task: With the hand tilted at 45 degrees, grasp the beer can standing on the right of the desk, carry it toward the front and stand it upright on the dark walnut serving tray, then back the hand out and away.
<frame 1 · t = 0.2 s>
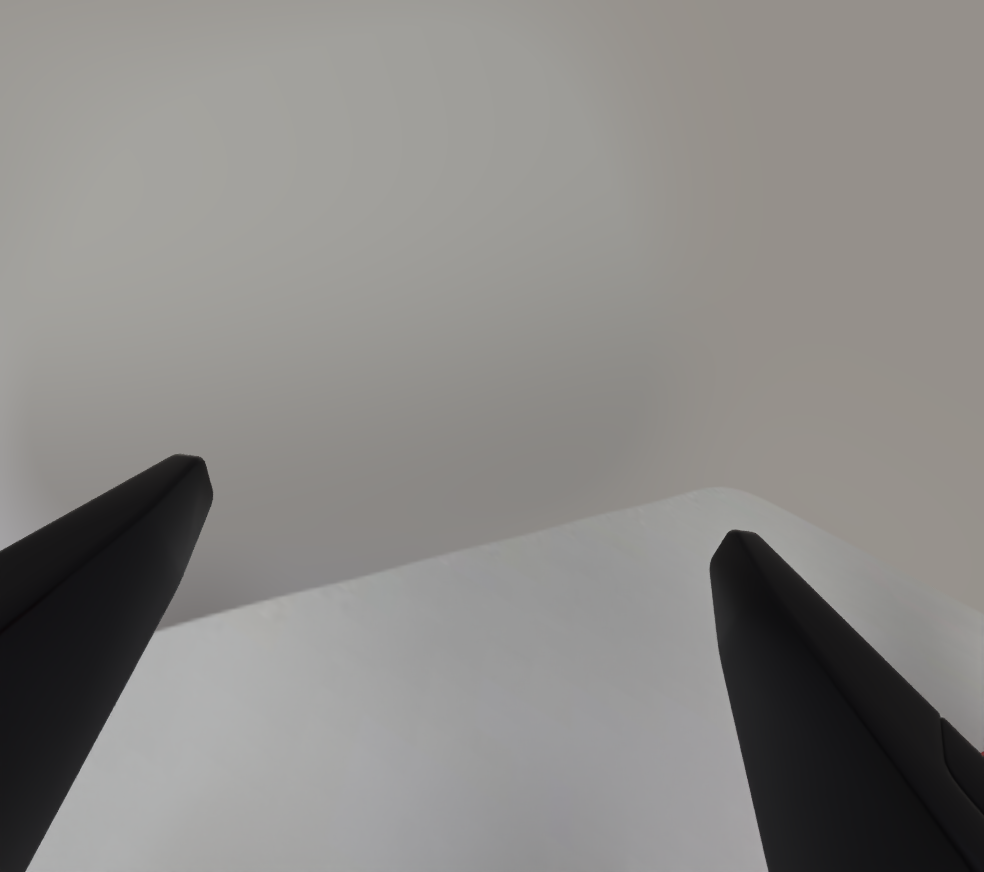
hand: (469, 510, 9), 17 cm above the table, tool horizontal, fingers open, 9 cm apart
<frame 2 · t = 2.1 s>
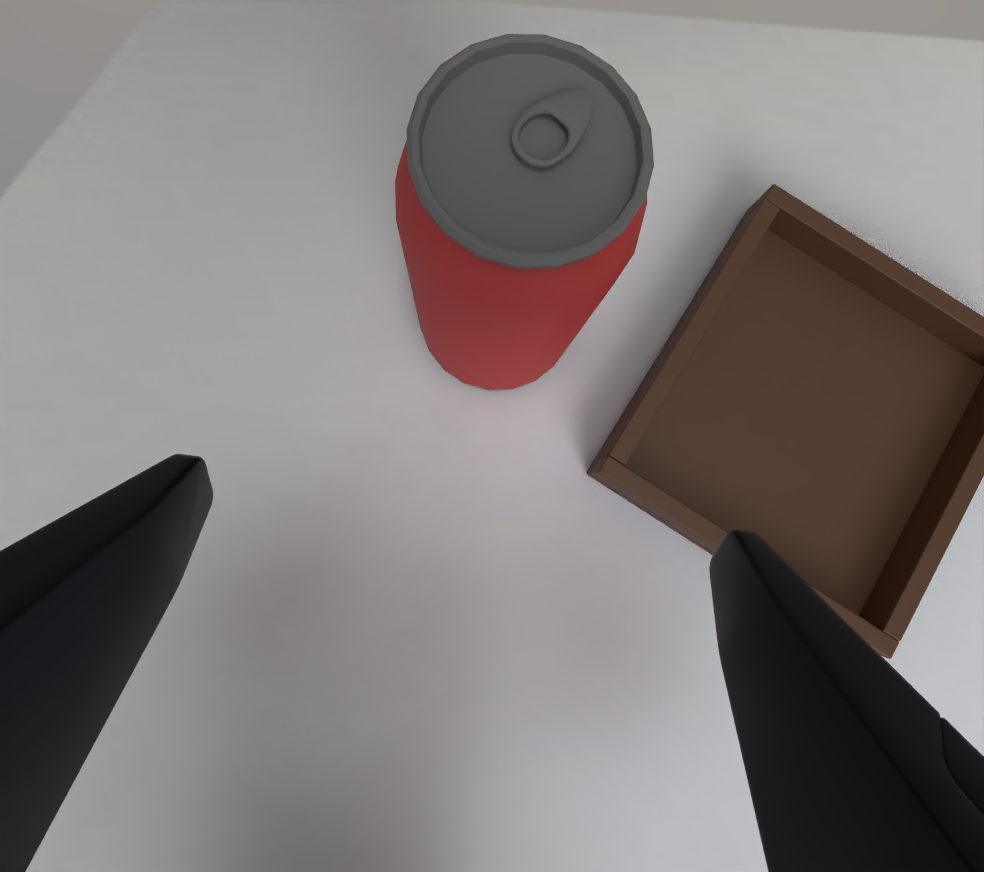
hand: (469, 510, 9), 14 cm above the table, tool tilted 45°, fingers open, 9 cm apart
beer can: (495, 320, 24), on the table
tray: (798, 418, 24), on the table
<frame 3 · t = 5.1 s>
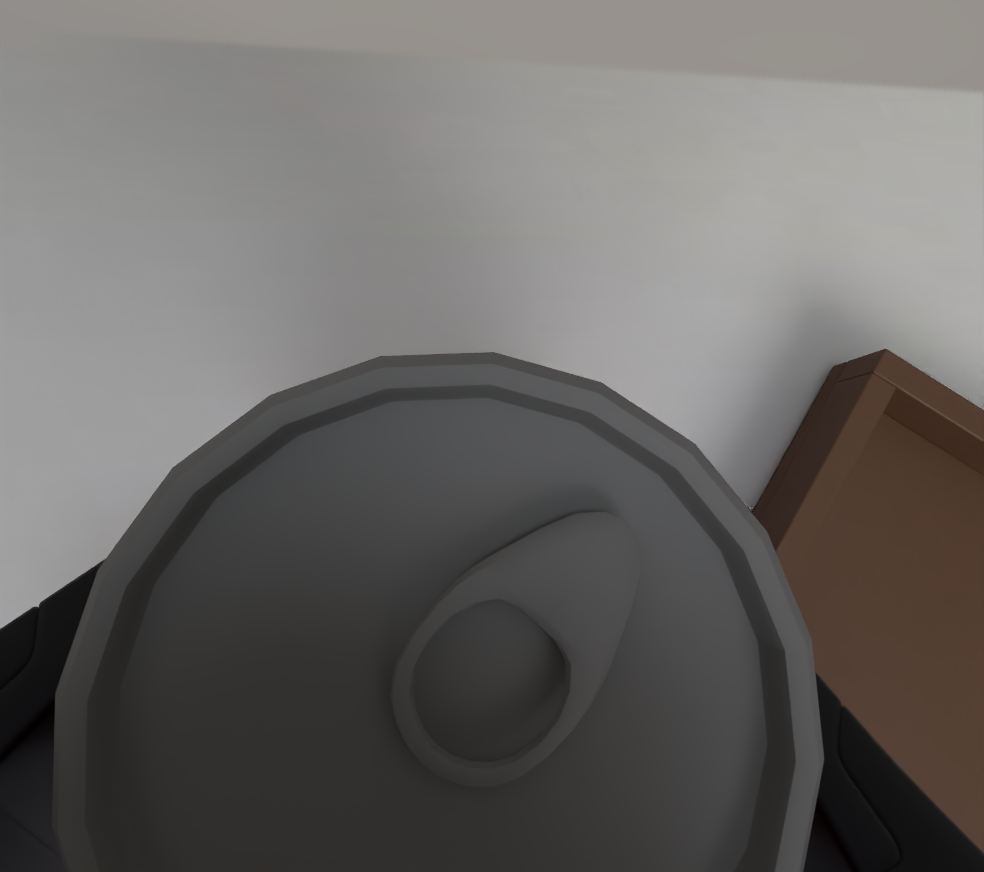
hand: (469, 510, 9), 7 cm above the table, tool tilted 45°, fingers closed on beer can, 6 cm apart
beer can: (458, 548, 16), on the table, touching gripper
tray: (915, 689, 16), on the table
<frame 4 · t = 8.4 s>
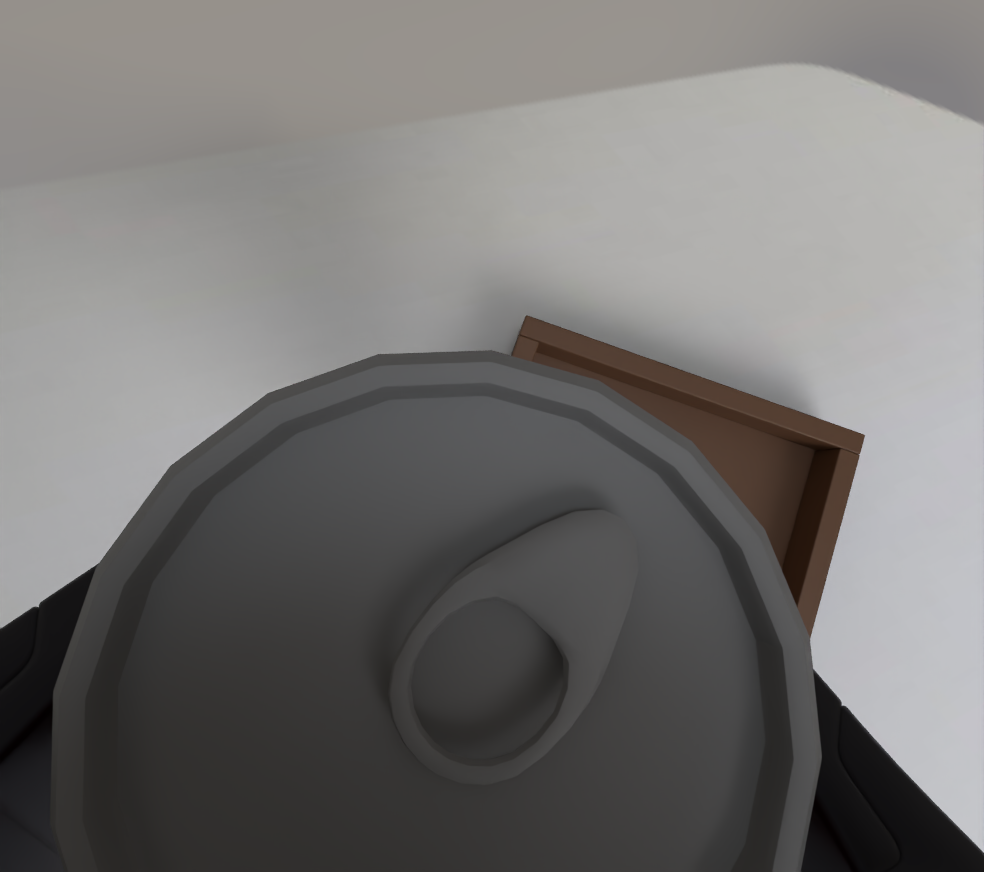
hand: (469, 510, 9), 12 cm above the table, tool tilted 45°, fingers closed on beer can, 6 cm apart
beer can: (457, 548, 16), point 5 cm above the table, touching gripper
tray: (622, 555, 22), on the table
when the fingers open (7 cm above the table, at t = 11.5 s): beer can stays where it is, resting on tray.
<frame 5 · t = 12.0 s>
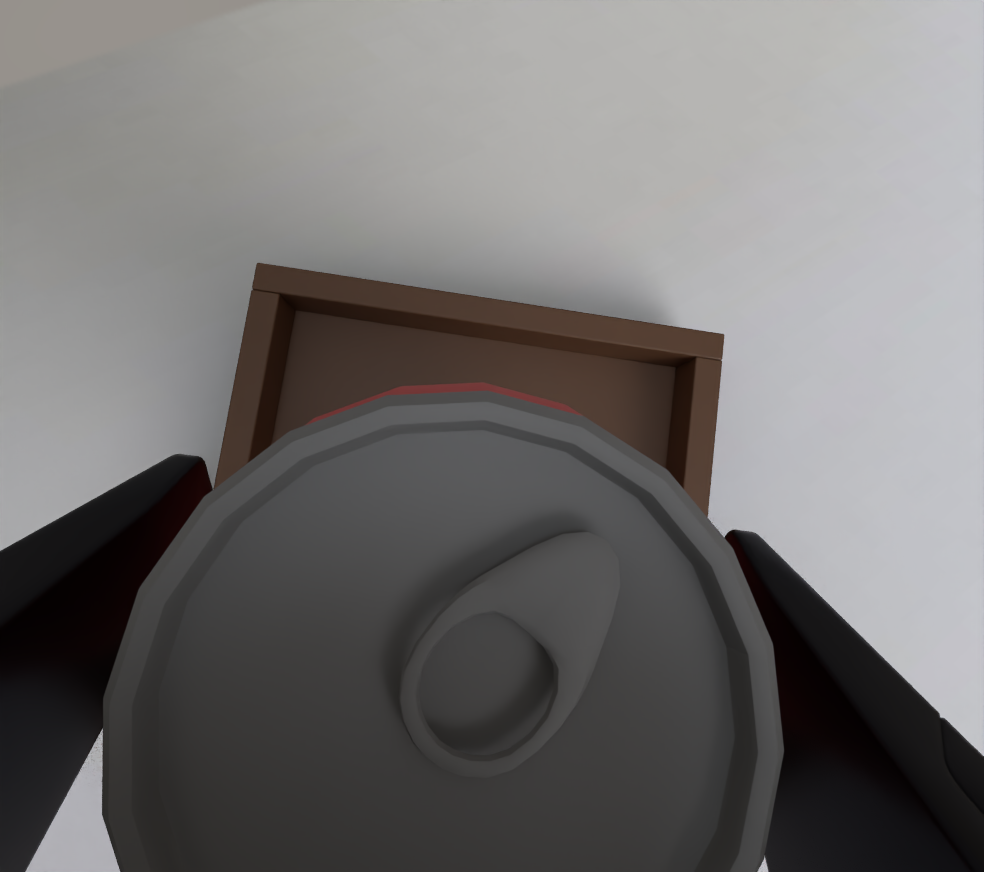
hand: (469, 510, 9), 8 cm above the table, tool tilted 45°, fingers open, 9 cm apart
beer can: (458, 553, 16), resting on tray
tray: (459, 547, 17), on the table
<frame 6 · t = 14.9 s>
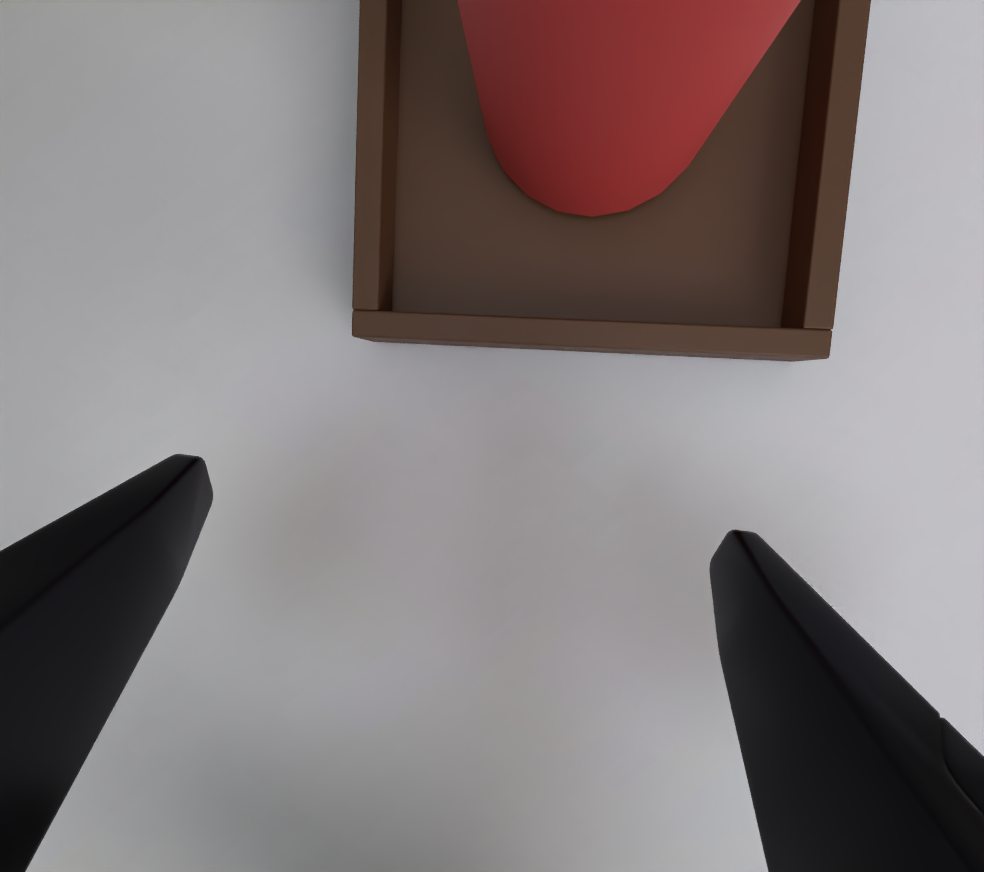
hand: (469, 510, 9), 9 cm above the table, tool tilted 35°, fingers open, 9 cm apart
beer can: (593, 112, 16), resting on tray
tray: (592, 114, 17), on the table
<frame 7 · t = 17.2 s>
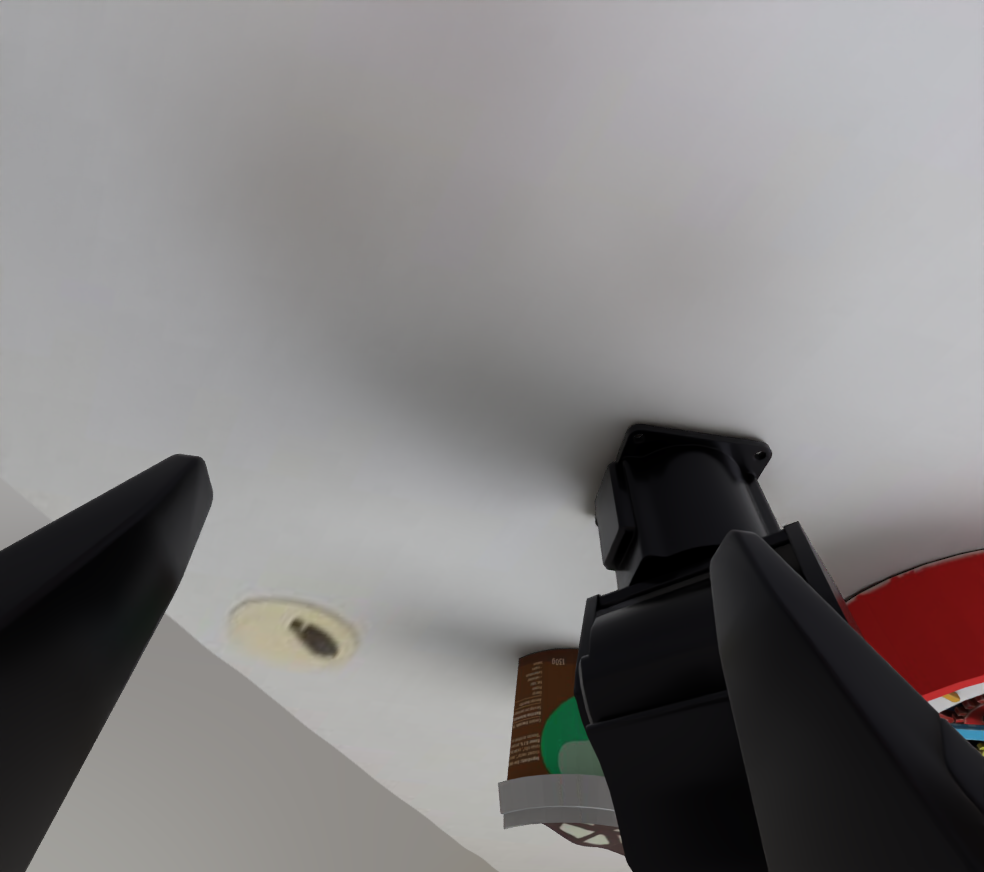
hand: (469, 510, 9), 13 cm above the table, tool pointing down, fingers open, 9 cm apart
toy clock: (965, 648, 33), on the table, touching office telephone
food container: (598, 667, 38), on the table
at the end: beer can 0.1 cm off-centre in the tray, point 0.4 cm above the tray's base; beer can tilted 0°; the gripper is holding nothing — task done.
